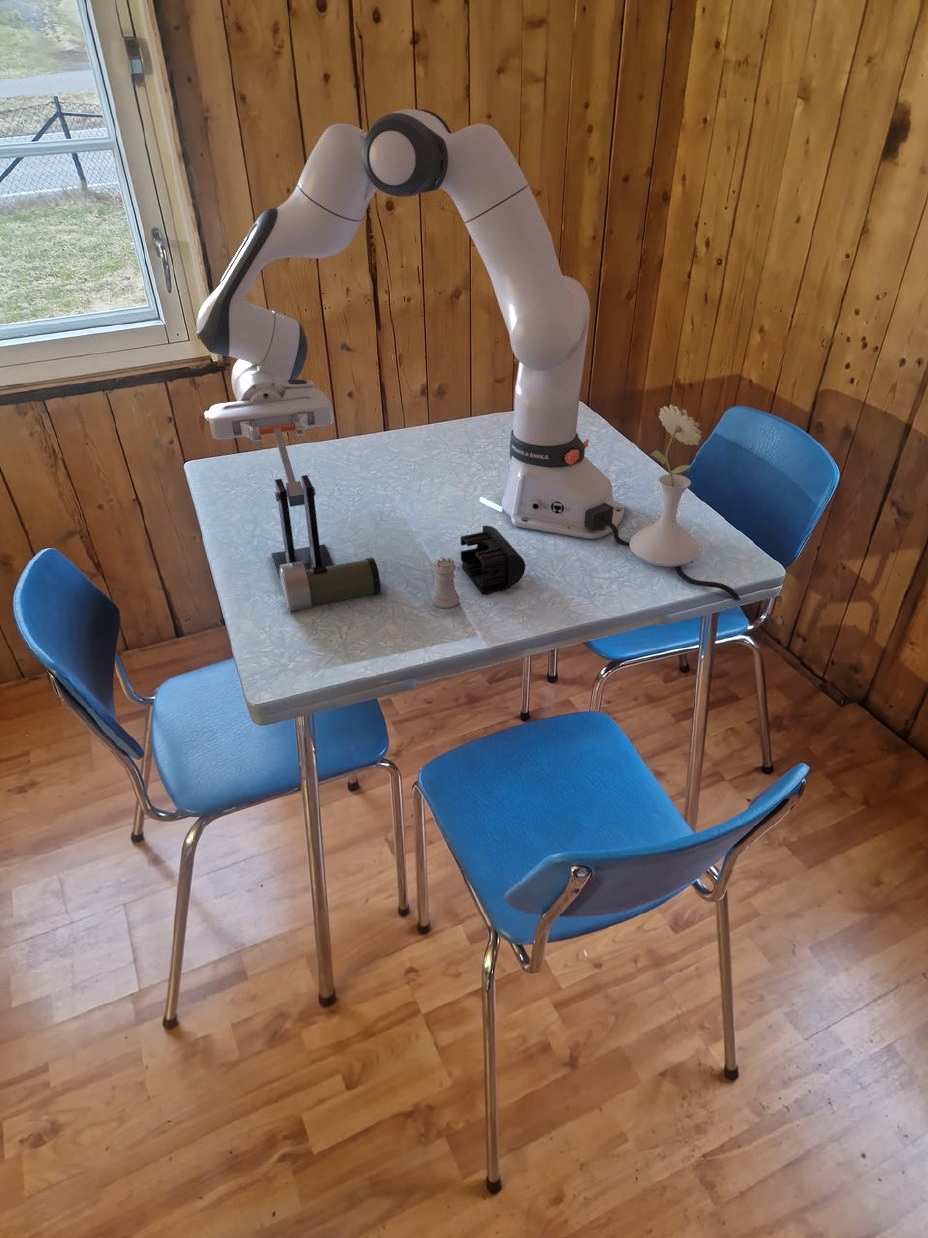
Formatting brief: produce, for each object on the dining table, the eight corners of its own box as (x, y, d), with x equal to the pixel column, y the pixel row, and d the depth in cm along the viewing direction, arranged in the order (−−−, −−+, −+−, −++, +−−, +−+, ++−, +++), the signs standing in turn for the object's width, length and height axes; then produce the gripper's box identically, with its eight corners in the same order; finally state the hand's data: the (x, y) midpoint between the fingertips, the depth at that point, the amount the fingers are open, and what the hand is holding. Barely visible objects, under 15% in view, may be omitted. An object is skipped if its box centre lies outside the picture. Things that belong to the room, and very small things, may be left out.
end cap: (524, 587, 131) (526, 551, 128) (483, 597, 129) (484, 560, 125) (498, 557, 139) (500, 521, 135) (459, 565, 137) (459, 529, 133)
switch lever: (259, 435, 134) (258, 424, 132) (293, 430, 136) (293, 419, 134) (279, 508, 127) (278, 498, 125) (315, 502, 128) (315, 492, 126)
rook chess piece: (430, 599, 129) (429, 554, 124) (459, 597, 129) (459, 553, 125) (431, 615, 125) (430, 570, 121) (461, 614, 126) (461, 569, 121)
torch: (291, 621, 124) (285, 580, 120) (282, 596, 129) (276, 556, 125) (382, 603, 128) (380, 563, 124) (370, 579, 133) (368, 540, 129)
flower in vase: (710, 567, 137) (739, 423, 122) (647, 578, 134) (670, 431, 119) (672, 530, 147) (695, 392, 132) (612, 539, 144) (630, 399, 130)
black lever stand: (271, 559, 138) (258, 472, 129) (325, 550, 141) (315, 464, 132) (283, 594, 130) (269, 503, 121) (339, 583, 132) (330, 494, 123)
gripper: (199, 392, 139) (208, 423, 128) (320, 378, 144) (338, 406, 134) (206, 428, 142) (215, 461, 132) (324, 413, 148) (342, 443, 137)
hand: (278, 433), depth 133 cm, fingers open, 6 cm apart
